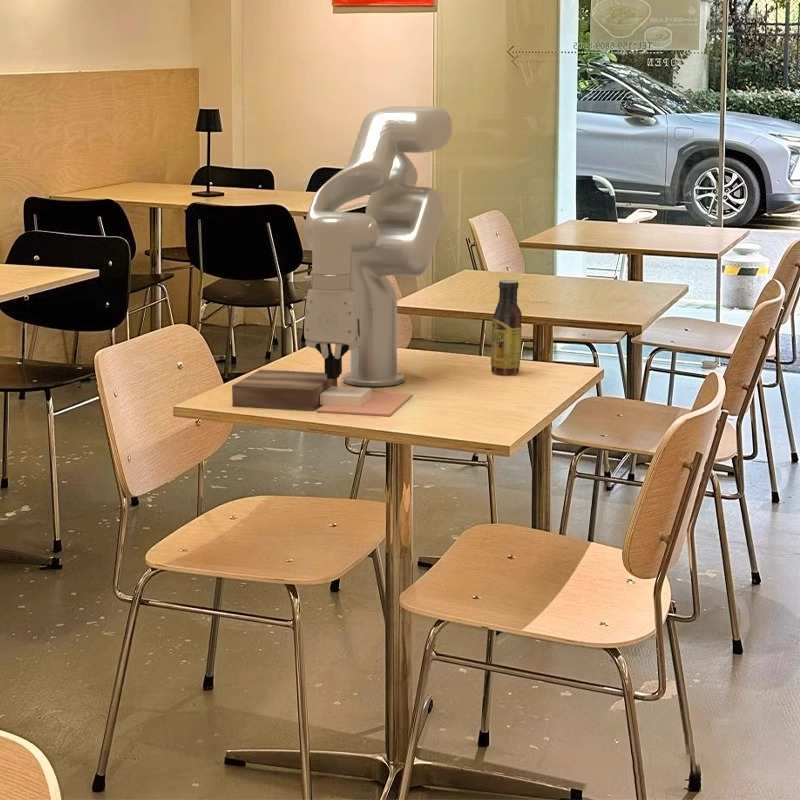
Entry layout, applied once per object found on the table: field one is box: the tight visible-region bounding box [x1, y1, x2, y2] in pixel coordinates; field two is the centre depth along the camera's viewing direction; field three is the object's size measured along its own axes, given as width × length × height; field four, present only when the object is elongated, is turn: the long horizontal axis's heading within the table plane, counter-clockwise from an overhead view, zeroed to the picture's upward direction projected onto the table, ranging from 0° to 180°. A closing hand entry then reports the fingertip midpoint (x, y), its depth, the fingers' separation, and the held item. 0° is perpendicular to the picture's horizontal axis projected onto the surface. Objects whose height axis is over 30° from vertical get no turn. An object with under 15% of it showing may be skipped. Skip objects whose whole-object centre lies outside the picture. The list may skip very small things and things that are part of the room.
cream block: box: [320, 385, 372, 407], centre depth 260 cm, size 8×8×2 cm
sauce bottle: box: [490, 279, 523, 376], centre depth 287 cm, size 6×6×20 cm
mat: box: [316, 391, 413, 417], centre depth 260 cm, size 18×14×1 cm
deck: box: [231, 369, 338, 412], centre depth 263 cm, size 16×16×4 cm
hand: (333, 377), depth 260 cm, fingers closed
